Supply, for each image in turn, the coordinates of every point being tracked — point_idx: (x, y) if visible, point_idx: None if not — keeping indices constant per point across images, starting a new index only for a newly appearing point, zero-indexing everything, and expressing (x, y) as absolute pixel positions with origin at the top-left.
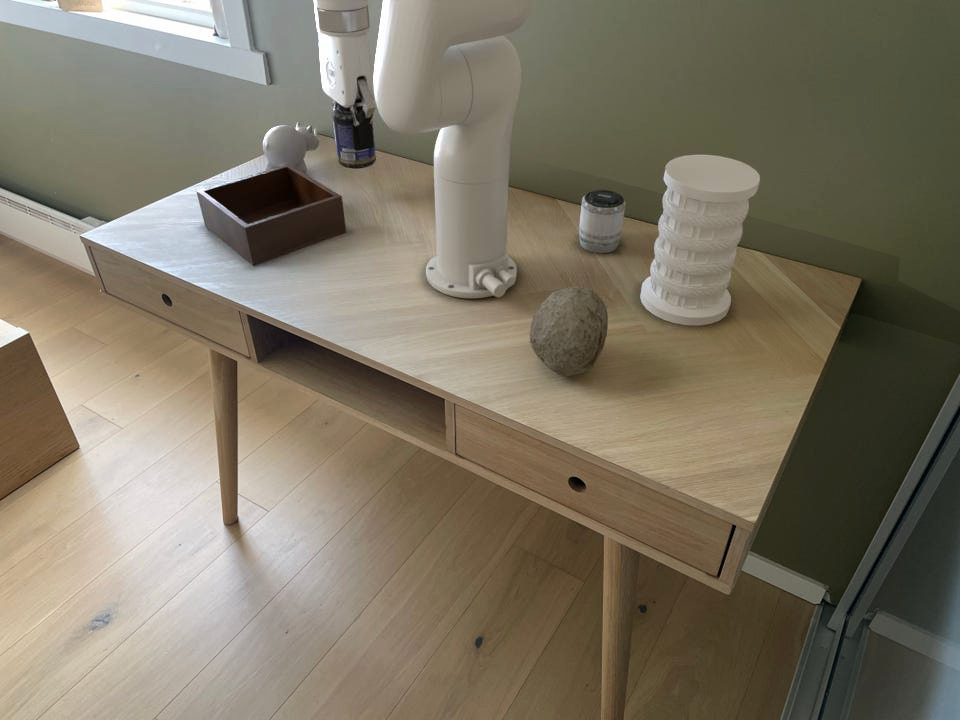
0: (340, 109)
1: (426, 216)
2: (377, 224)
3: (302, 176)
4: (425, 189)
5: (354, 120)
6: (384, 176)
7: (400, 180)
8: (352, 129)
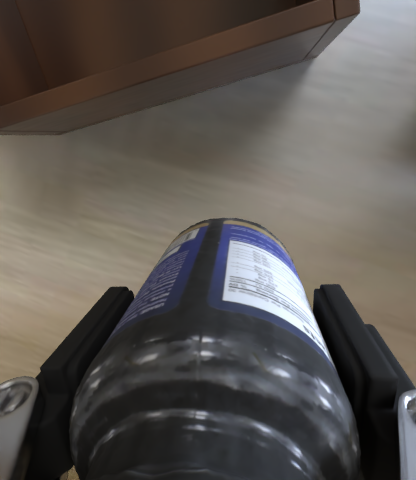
0: (154, 429)
1: (83, 314)
2: (78, 215)
3: (196, 40)
4: None
5: (7, 410)
6: None
7: None
8: (61, 349)
